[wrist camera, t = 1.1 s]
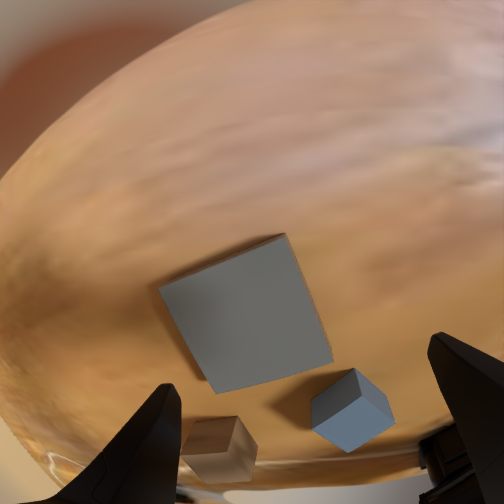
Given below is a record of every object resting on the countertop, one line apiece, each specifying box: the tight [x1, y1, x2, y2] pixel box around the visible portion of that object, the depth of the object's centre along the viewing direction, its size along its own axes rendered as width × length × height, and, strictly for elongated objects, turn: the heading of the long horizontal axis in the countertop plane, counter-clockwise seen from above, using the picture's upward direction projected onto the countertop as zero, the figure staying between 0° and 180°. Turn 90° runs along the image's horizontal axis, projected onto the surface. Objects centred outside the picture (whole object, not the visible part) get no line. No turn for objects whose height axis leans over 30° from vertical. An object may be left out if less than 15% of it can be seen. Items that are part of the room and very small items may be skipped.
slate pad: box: [158, 233, 334, 394], centre depth 22 cm, size 10×10×2 cm
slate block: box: [311, 368, 395, 453], centre depth 21 cm, size 5×5×4 cm
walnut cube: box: [180, 416, 258, 484], centre depth 24 cm, size 5×5×5 cm
